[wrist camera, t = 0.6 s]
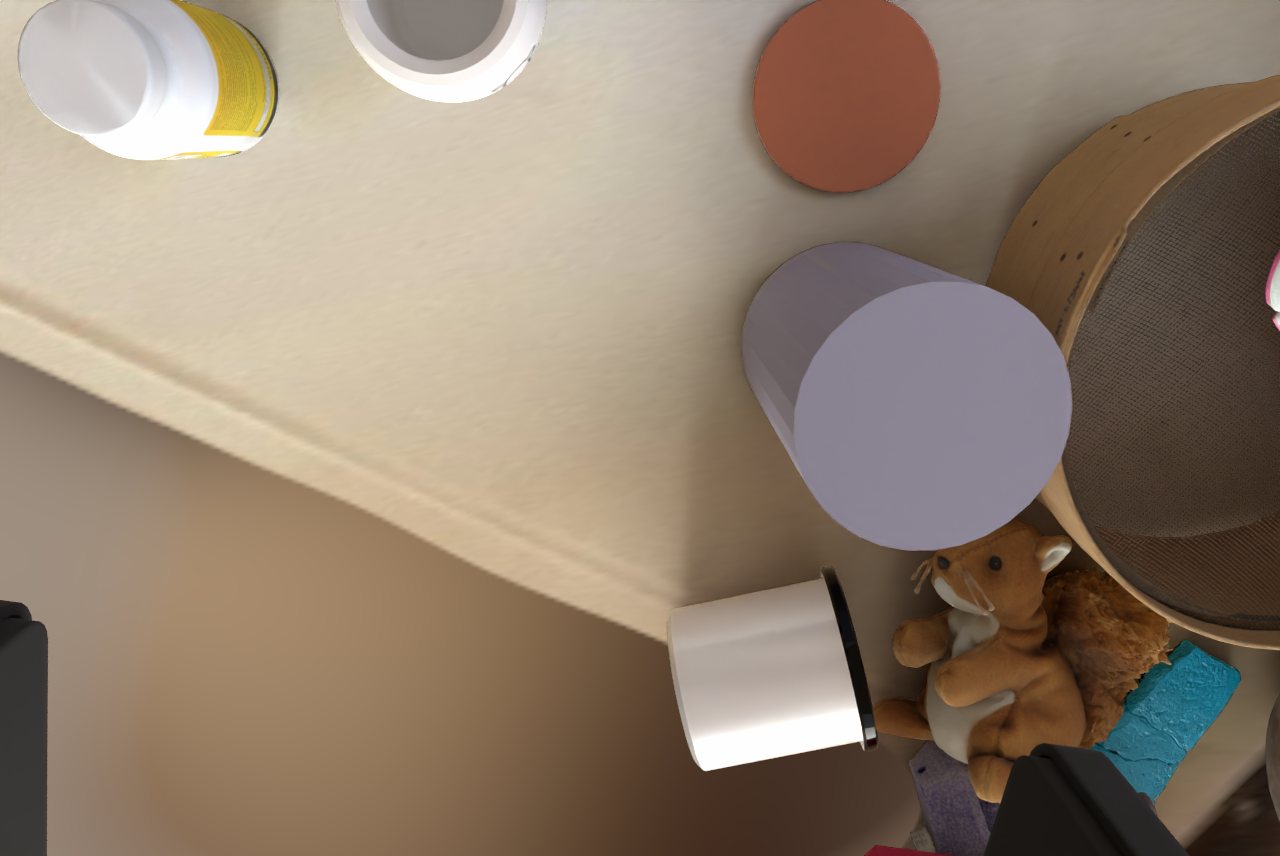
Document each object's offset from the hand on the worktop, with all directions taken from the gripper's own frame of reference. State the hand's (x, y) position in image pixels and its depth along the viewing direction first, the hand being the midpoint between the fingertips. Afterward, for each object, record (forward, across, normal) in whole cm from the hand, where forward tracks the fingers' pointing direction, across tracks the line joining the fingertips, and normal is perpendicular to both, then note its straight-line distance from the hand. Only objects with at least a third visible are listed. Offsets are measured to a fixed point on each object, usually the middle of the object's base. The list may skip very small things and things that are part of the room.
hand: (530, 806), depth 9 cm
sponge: (+40, -33, +20) cm, 55 cm away
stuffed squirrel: (+36, -26, +21) cm, 49 cm away
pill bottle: (+41, +19, -6) cm, 45 cm away
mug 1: (+41, +7, -12) cm, 43 cm away
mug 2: (+37, -8, +21) cm, 44 cm away
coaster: (+41, -10, -11) cm, 43 cm away
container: (+41, -13, +1) cm, 43 cm away
